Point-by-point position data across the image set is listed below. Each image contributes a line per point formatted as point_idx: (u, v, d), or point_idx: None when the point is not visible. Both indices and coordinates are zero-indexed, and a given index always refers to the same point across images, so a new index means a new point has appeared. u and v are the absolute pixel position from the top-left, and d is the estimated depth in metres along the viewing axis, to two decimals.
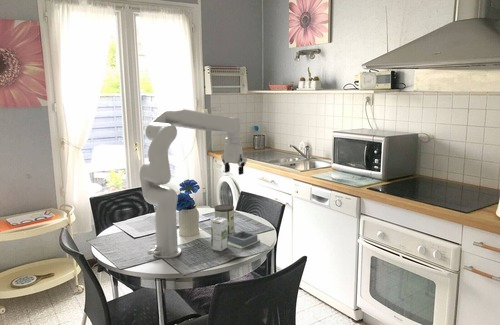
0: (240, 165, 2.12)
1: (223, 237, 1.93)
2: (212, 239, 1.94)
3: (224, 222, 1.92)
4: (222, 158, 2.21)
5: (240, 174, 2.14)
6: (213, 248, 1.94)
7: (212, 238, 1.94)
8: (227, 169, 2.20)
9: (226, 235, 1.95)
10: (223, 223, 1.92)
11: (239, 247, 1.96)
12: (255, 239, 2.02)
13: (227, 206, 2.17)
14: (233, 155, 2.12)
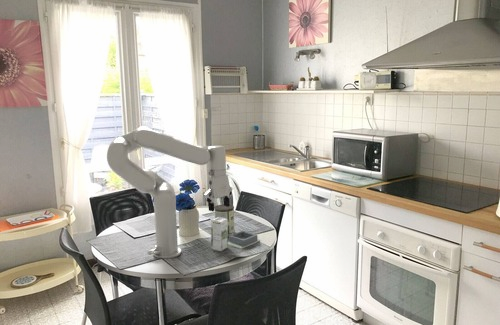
0: (229, 196, 1.95)
1: (223, 237, 1.93)
2: (212, 239, 1.94)
3: (224, 222, 1.92)
4: (207, 197, 1.85)
5: None
6: (213, 248, 1.94)
7: (212, 238, 1.94)
8: None
9: (226, 235, 1.95)
10: (223, 223, 1.92)
11: (239, 247, 1.96)
12: (255, 239, 2.02)
13: None
14: (226, 187, 1.91)
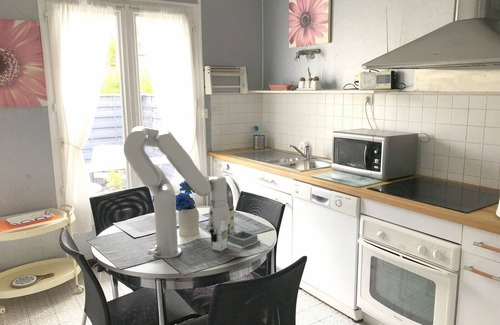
0: None
1: (223, 237, 1.93)
2: None
3: (224, 222, 1.92)
4: (209, 229, 1.89)
5: None
6: (213, 248, 1.94)
7: None
8: None
9: (226, 235, 1.95)
10: (223, 223, 1.92)
11: (239, 247, 1.96)
12: (255, 239, 2.02)
13: None
14: (226, 217, 1.93)
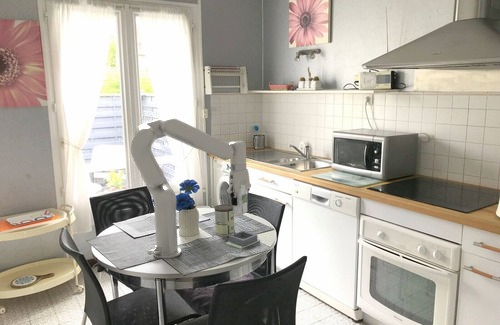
0: (247, 192, 2.00)
1: (244, 201, 1.97)
2: None
3: (244, 186, 1.96)
4: (230, 192, 1.93)
5: None
6: (234, 212, 1.98)
7: None
8: None
9: (246, 199, 1.99)
10: (243, 187, 1.95)
11: (239, 247, 1.96)
12: (255, 239, 2.02)
13: (227, 206, 2.17)
14: (246, 181, 1.97)
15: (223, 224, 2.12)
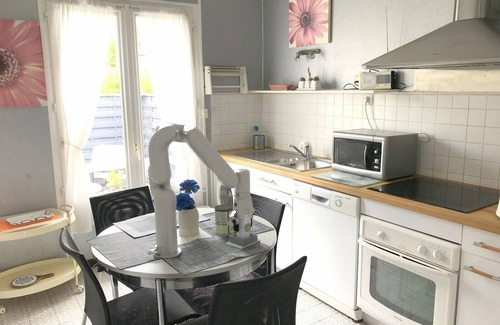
0: (252, 217, 2.05)
1: (247, 230, 2.00)
2: (236, 232, 2.01)
3: None
4: (232, 218, 1.95)
5: (251, 226, 2.05)
6: None
7: (235, 231, 2.01)
8: None
9: (249, 228, 2.02)
10: (247, 216, 1.99)
11: (239, 247, 1.96)
12: (255, 239, 2.02)
13: (227, 206, 2.17)
14: (250, 208, 2.00)
15: (223, 224, 2.12)
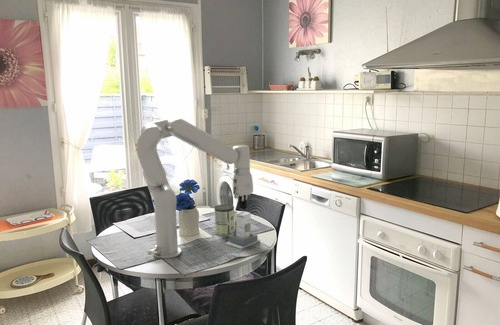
0: (246, 198, 2.00)
1: (247, 230, 2.00)
2: (236, 232, 2.01)
3: (247, 216, 2.00)
4: (237, 197, 1.96)
5: None
6: None
7: (235, 231, 2.01)
8: None
9: (249, 228, 2.02)
10: (246, 216, 1.99)
11: (239, 247, 1.96)
12: (255, 239, 2.02)
13: (227, 206, 2.17)
14: (250, 185, 1.98)
15: (223, 224, 2.12)
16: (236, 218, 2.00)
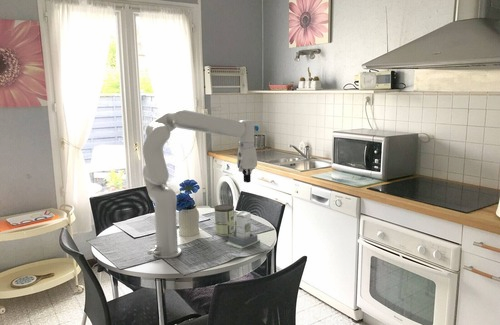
0: (250, 172, 2.04)
1: (247, 230, 2.00)
2: (236, 232, 2.01)
3: (247, 216, 2.00)
4: (242, 170, 2.01)
5: (249, 181, 2.05)
6: None
7: (235, 231, 2.01)
8: None
9: (249, 228, 2.02)
10: (246, 216, 1.99)
11: (239, 247, 1.96)
12: (255, 239, 2.02)
13: (227, 206, 2.17)
14: (254, 159, 2.03)
15: (223, 224, 2.12)
16: (236, 218, 2.00)
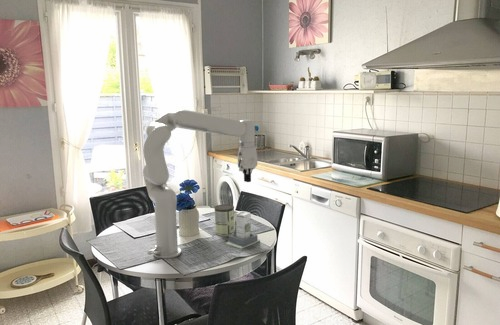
0: (250, 171, 2.05)
1: (247, 230, 2.00)
2: (236, 232, 2.01)
3: (247, 216, 2.00)
4: (242, 170, 2.01)
5: None
6: None
7: (235, 231, 2.01)
8: None
9: (249, 228, 2.02)
10: (246, 216, 1.99)
11: (239, 247, 1.96)
12: (255, 239, 2.02)
13: (227, 206, 2.17)
14: (254, 159, 2.03)
15: (223, 224, 2.12)
16: (236, 218, 2.00)
